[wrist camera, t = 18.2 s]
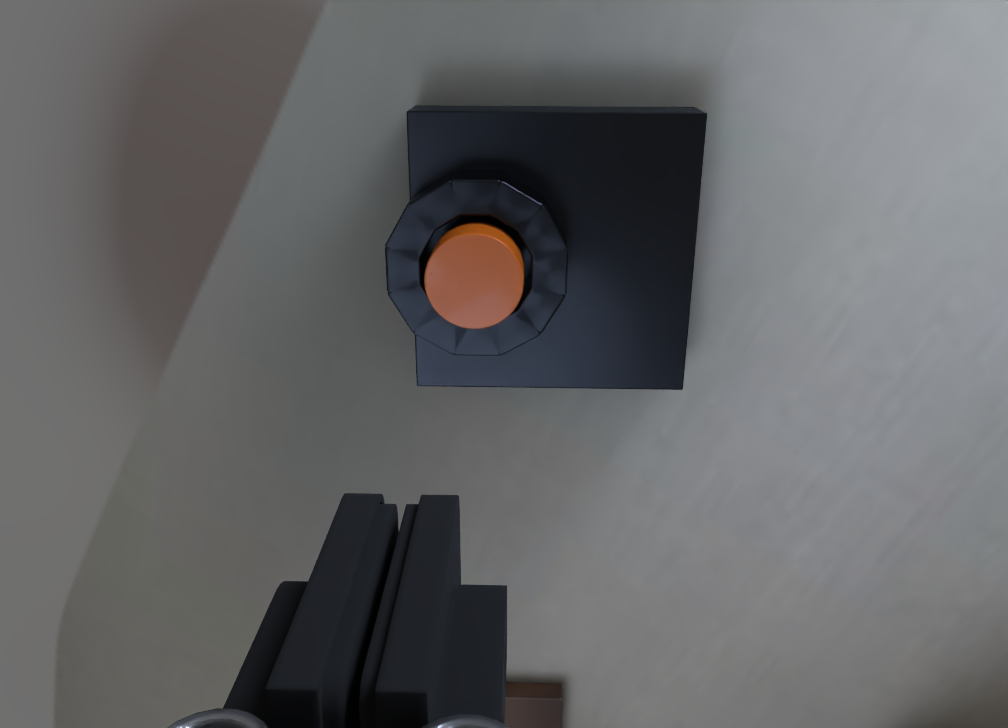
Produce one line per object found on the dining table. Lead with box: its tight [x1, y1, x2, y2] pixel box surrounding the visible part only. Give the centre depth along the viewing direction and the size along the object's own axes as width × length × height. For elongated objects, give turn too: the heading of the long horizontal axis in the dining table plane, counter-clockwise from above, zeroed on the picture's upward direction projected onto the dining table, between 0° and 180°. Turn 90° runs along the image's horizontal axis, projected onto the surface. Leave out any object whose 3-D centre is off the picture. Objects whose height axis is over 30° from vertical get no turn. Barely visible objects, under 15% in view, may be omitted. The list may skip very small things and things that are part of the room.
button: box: [424, 222, 524, 329], centre depth 28 cm, size 3×3×2 cm
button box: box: [385, 106, 707, 390], centre depth 30 cm, size 11×10×4 cm
